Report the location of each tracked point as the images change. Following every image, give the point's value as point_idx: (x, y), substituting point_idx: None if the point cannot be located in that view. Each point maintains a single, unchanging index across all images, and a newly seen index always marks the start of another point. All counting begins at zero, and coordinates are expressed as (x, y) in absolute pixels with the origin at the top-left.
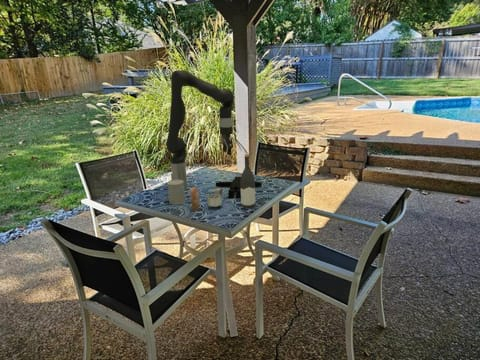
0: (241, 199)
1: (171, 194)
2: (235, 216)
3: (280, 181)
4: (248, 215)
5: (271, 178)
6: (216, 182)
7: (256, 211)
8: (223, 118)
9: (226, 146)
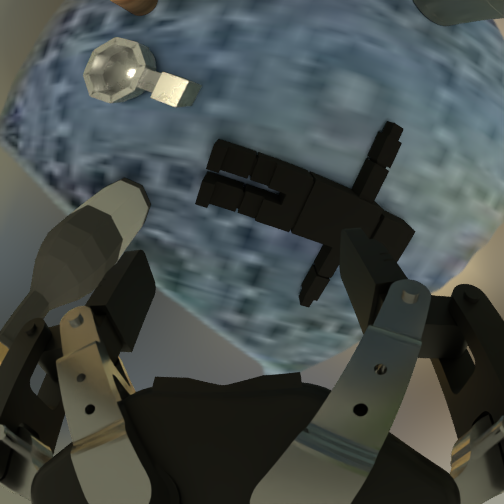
0: (109, 187)
1: None
2: (52, 147)
3: (322, 352)
4: (55, 188)
5: None
6: (401, 129)
7: None
8: None
9: (360, 323)
